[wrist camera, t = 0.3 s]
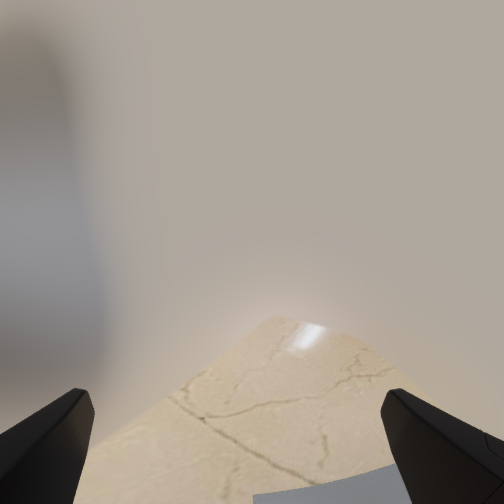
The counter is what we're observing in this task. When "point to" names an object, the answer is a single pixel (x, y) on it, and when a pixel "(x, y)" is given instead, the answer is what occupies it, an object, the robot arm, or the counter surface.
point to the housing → (347, 491)
